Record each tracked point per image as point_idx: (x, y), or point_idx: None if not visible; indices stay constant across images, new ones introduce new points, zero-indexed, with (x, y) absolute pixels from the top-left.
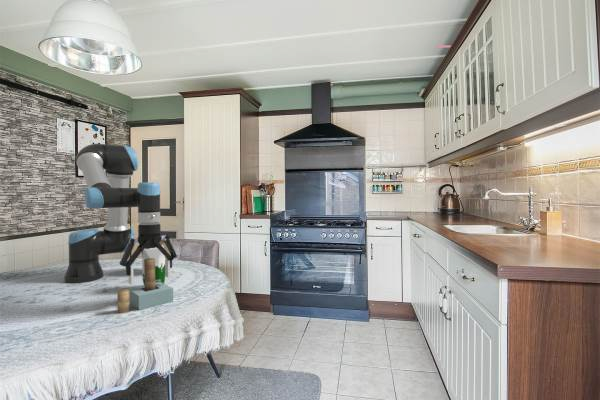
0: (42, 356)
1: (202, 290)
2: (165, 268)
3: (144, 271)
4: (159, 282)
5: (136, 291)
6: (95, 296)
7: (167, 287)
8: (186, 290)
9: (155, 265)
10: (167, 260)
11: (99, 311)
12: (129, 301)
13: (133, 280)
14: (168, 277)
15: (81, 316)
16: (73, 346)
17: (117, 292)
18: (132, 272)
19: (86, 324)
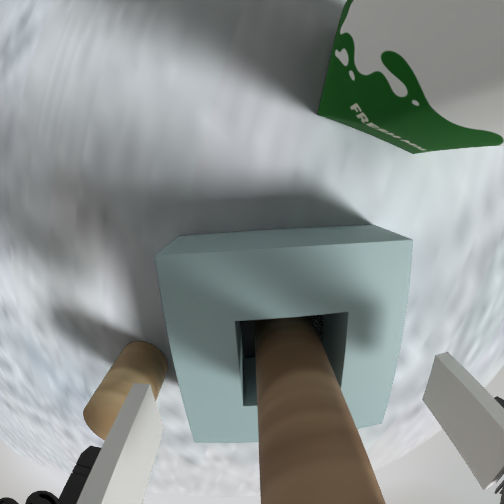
0: (27, 449)
1: (495, 311)
2: (469, 401)
3: (260, 471)
4: (402, 257)
5: (196, 372)
6: (83, 32)
7: (372, 401)
8: (472, 263)
9: (498, 131)
10: (500, 472)
11: (60, 289)
12: (156, 397)
13: (157, 449)
14: (424, 400)
15: (17, 296)
16: (59, 459)
17: (85, 418)
18: (134, 501)
19: (45, 382)
